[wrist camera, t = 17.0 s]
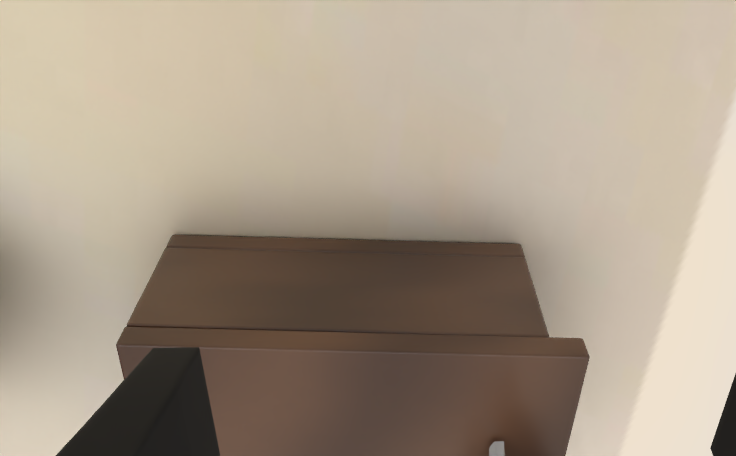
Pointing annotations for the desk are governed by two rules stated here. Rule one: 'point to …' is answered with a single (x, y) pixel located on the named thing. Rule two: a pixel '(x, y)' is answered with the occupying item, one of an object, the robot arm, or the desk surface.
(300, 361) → the lid
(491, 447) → the stegosaurus
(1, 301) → the desk surface
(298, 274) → the box
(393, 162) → the desk surface
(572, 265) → the desk surface
